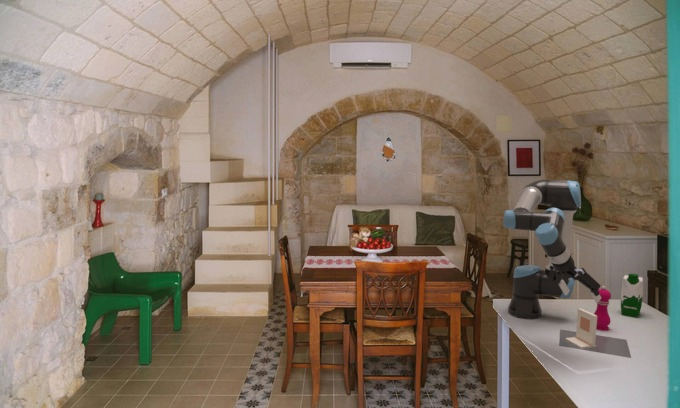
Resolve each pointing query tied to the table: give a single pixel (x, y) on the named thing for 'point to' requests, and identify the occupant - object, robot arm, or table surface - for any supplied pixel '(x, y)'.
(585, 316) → the cream flat block
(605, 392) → the table surface
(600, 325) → the pepper mill
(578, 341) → the base
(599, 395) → the table surface
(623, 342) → the slate board
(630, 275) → the milk carton
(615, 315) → the table surface
